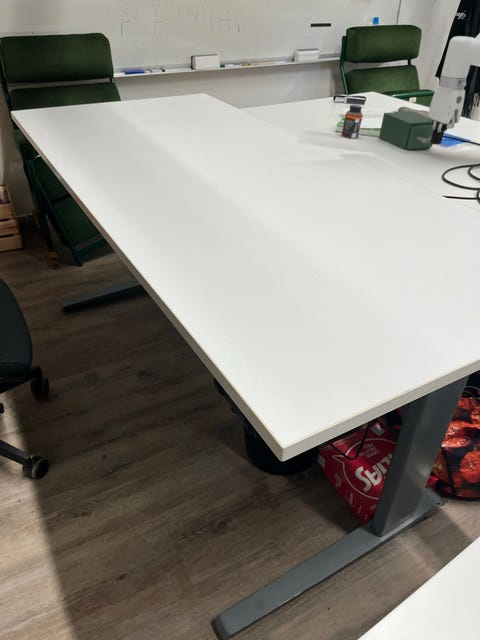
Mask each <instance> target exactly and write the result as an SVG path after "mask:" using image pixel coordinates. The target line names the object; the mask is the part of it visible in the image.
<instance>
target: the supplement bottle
mask: <svg viewBox="0 0 480 640" xmlns="http://www.w3.org/2000/svg"><path fill="white" fill-rule="evenodd" d="M362 108H363V106H362V105H359V104H350V105H349V110H347V111H346V112H345V115H344V121H343V125H342V130H341V137H343V138H345V139H350V140H357V139H358V138H359V135H360V134H359V133H360V129H361V125H362V121H363V113H362Z"/></svg>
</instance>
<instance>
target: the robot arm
mask: <svg viewBox="0 0 480 640" xmlns="http://www.w3.org/2000/svg"><path fill="white" fill-rule="evenodd" d="M471 66H475V67H480V32H479V33H478V34H477V35H476V36H475V37H472V36H465V35H457V36H453V37H451V39H450V40H449V43H448V47H447V51H446V55H445V58H444V61H443V66H442V70H441V74H440V78H439V82H438V84H437V86H436V88H435V91H434V93H433V96H432V98H431V102H430V105H429V109H428V114H427V115H428V118H429V121H430V122H431V123H432V125H433V127H432V129H433V130H434V131H433V134H432V138H431V142H430V143H433V145H441V144H442V142H443V138H444V134H445V133H446V132H447V130H449V129H450V130H451V129H454V128H455V124H458V123H459V122H460V120H461V117H462V114H463V113H462V112H463V109H464V108H463V107H464V102H465V96H466V89H464V88H465V87H466V86H467V77H468V75H469V71H470V68H471Z"/></svg>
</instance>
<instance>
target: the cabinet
mask: <svg viewBox="0 0 480 640" xmlns="http://www.w3.org/2000/svg"><path fill="white" fill-rule="evenodd" d="M426 124H432V123H431V122H430V121H429V117H427V116H424V115H421V114H419V113H416V112H414V111H411V110H406V111H405V110H404V111H392V112H391V111H390V112H384V113H383V117H382V122H381V124H380V125H381V126H380V130H379V131H380V132H379V136H378V139H379V140H381V141H384V142H386V143H388V144H390V145H392V146H395V147H397V148H399V149H402V150H403V151H413V150H415V151H416V150H425V149H432V147H425V148H415V149H407V148H406V147H407V143H408V138H409V134H410V130H411V126H415V125H426Z"/></svg>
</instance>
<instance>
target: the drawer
mask: <svg viewBox="0 0 480 640" xmlns="http://www.w3.org/2000/svg"><path fill="white" fill-rule="evenodd" d="M432 127H433V125H432V124H426V125H415V126H411V130H410V134H409V138H408V143H407V147H406V148H407V149H415V148H425V147H431V148H432V147H433V145H434V144H433V143H430V142H431V138H432V134H433V131H434V130H433V129H432Z"/></svg>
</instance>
